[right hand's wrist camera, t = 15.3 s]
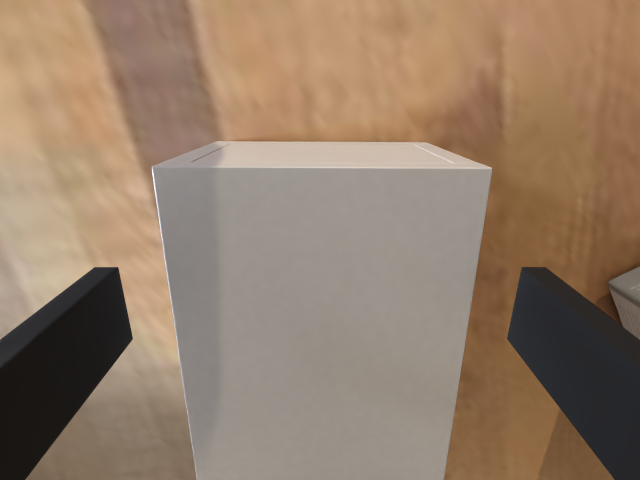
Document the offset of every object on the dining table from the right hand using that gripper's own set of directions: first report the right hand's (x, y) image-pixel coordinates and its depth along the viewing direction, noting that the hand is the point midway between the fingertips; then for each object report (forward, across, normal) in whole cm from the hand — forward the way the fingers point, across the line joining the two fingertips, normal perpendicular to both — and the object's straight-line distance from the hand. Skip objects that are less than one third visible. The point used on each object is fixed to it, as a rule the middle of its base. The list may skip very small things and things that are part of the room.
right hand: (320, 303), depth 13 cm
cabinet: (+10, 0, -4) cm, 11 cm away
